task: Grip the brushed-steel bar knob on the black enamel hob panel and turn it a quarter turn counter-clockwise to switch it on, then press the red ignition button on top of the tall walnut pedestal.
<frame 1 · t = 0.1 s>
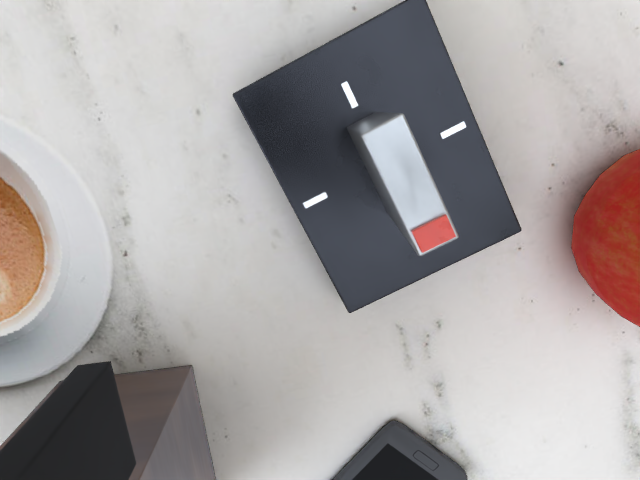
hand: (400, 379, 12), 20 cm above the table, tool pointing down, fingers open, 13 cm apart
hob panel: (376, 160, 30), on the table
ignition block: (141, 437, 35), on the table
stove knob: (395, 175, 23), point 7 cm above the table, hinge at 0.0°
apple: (635, 222, 32), on the table
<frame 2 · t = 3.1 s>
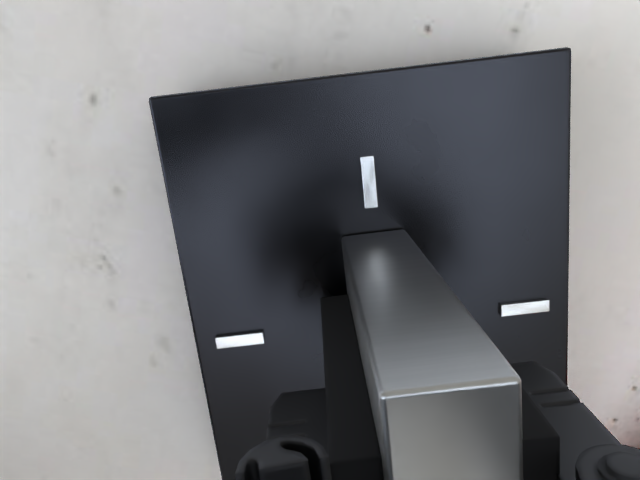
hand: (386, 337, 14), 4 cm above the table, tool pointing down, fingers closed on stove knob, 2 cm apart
hob panel: (369, 287, 18), on the table
stove knob: (408, 403, 11), point 7 cm above the table, hinge at 0.3°, touching gripper
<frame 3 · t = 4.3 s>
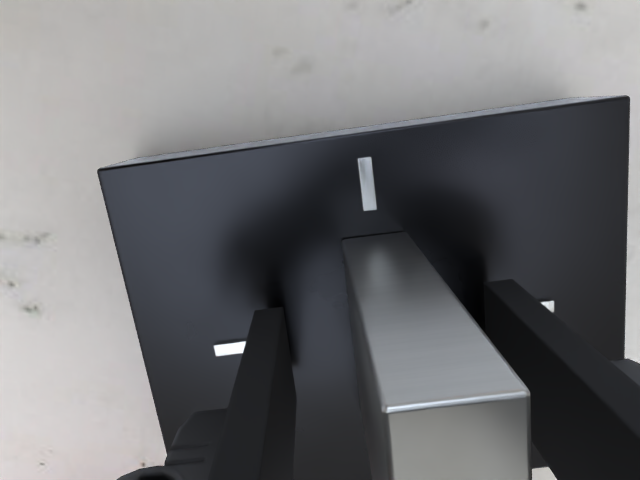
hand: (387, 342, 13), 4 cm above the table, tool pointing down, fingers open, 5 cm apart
hob panel: (370, 290, 17), on the table
stove knob: (410, 411, 10), point 7 cm above the table, hinge at 89.3°
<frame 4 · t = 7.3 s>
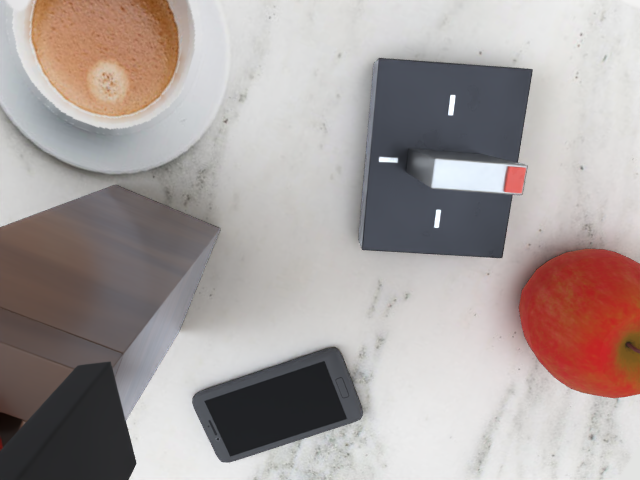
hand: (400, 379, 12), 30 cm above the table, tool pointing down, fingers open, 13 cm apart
hob panel: (434, 159, 40), on the table
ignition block: (148, 261, 42), on the table
stove knob: (460, 169, 33), point 7 cm above the table, hinge at 89.3°
cell phone: (278, 402, 45), on the table
apple: (567, 298, 43), on the table
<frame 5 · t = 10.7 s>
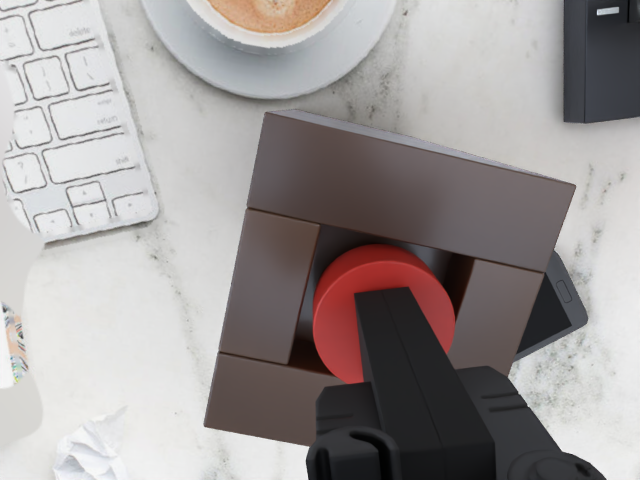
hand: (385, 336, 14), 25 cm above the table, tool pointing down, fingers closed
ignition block: (337, 188, 38), on the table
cell phone: (491, 322, 41), on the table
ignition button: (380, 316, 15), point 24 cm above the table, slide at -0.1 cm, touching gripper
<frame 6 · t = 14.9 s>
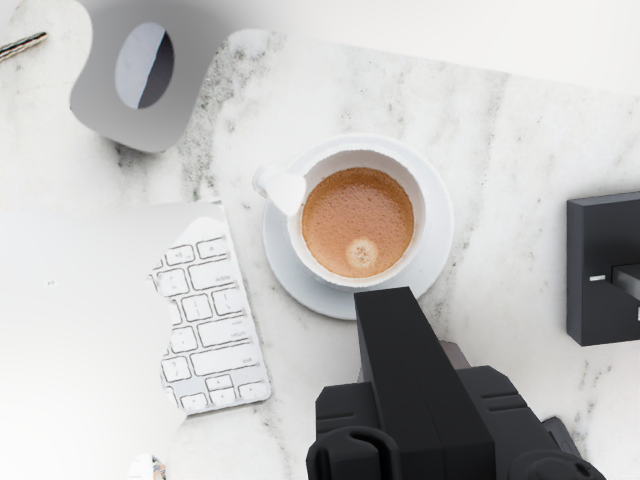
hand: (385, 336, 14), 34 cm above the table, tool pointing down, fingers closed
hob panel: (621, 262, 50), on the table
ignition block: (402, 378, 53), on the table
cell phone: (513, 467, 56), on the table
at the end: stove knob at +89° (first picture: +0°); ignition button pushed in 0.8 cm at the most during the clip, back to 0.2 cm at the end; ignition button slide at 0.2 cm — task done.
